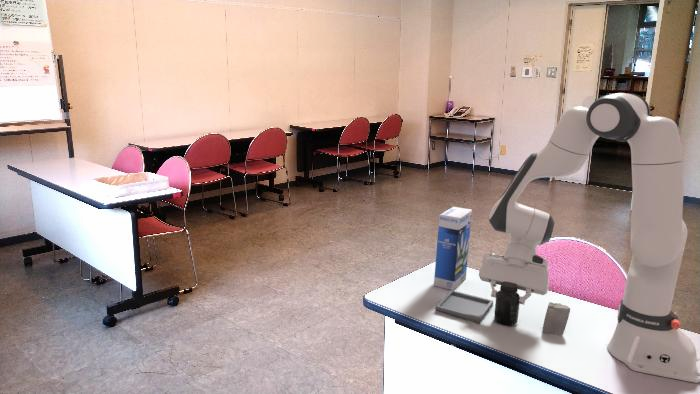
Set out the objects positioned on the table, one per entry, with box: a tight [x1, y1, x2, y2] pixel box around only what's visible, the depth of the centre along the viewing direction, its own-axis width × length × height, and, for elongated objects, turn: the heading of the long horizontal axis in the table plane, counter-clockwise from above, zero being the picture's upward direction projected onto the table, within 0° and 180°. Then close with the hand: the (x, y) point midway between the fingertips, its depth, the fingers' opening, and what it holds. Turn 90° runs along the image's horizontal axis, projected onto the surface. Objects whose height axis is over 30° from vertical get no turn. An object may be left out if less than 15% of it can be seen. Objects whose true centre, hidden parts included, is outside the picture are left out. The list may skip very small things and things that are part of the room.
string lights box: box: [433, 206, 473, 291], centre depth 181 cm, size 13×8×26 cm, turn 149°
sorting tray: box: [435, 290, 494, 325], centre depth 164 cm, size 14×14×2 cm
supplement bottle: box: [493, 281, 521, 327], centre depth 156 cm, size 7×7×12 cm
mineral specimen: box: [542, 302, 571, 336], centre depth 153 cm, size 7×9×8 cm
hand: (507, 300), depth 155 cm, fingers closed on supplement bottle, 7 cm apart
